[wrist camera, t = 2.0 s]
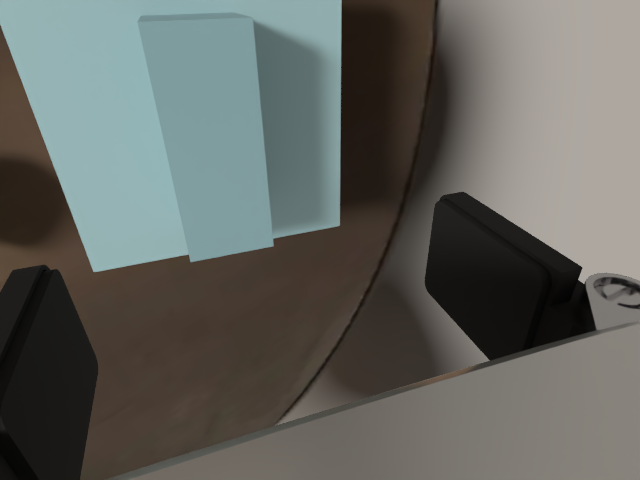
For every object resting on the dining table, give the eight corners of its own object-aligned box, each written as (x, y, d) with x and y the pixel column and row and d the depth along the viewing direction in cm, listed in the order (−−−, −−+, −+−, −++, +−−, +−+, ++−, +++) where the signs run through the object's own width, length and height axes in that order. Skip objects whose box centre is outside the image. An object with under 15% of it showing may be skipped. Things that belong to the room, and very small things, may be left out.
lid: (-9, -46, 17) (-86, -63, 11) (325, -46, 21) (386, -59, 15) (98, 251, 25) (82, 325, 19) (328, 211, 28) (369, 262, 23)
